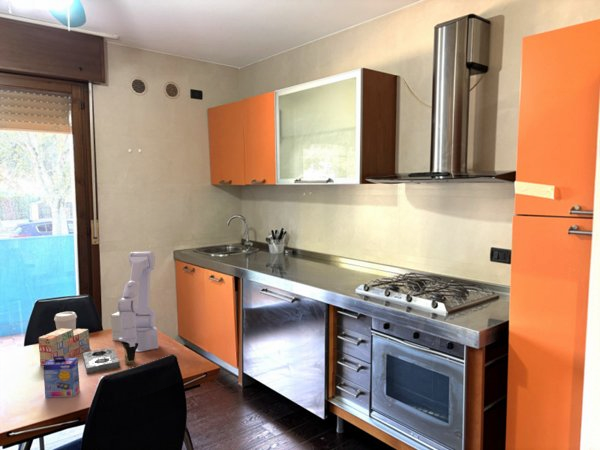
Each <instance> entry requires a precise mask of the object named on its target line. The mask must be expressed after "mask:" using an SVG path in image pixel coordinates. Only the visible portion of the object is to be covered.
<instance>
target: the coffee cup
mask: <svg viewBox="0 0 600 450" xmlns="http://www.w3.org/2000/svg"><path fill="white" fill-rule="evenodd" d="M77 318H78V316H77V313H76V312H74V311H63V312H59V313H56V314H55V315H54V319H53V321H54V322H55V327H56V330H59V329H61V328H64V329H73V330H75V329H77V328H76V327H77Z"/></svg>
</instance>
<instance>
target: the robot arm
mask: <svg viewBox="0 0 600 450" xmlns="http://www.w3.org/2000/svg"><path fill="white" fill-rule="evenodd" d="M155 260H156V259H155V253H154V252H153V250H152V251H131V252H130V253H129V256H128V263H129V266H130V268H131V270H130V276H129V281H128V282H126V283H125V286H124V289H123V293H122V297H121V298H120V299H119V300H118V301H117V310H118V311H117V312H119V316H120V317H121V331H122V337H121V338H119V342H121V344H122V347H123V349H124V351H125V350H126V353H127V357H128V360H129V361H132V360H134V358H135V359H136V353H141V352H145V351H149V350H151V351H152V350H155V349H159V335H158V334H159V333H158V329H157V328H158V327H156V323H157V320H156V319H157V318H156V311H155V310H154V309H152V307H150V293H151V292H150V291H151V289H150V287H151V273H152V272H151V271H153V270H154V269H155V266H156V265H155V262H156V261H155Z"/></svg>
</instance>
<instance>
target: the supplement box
mask: <svg viewBox="0 0 600 450" xmlns="http://www.w3.org/2000/svg"><path fill="white" fill-rule="evenodd" d="M110 317H111V318H110V319H111V320H110V321H111V334H112V335H111V337H112V341H116V342H117V341H119V338H121V337H122V331H121V317H120V316H119V311H117V312H114V313H112V314H111V315H110ZM119 342H120V341H119Z"/></svg>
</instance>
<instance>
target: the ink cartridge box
mask: <svg viewBox="0 0 600 450" xmlns="http://www.w3.org/2000/svg"><path fill="white" fill-rule="evenodd" d="M53 358H54V359H49V360H48V361H47V362H46V363H44V364H43V366H42V370H43V381H44V382H43V384H44V395H45V396H44V397H45V399H49V398H50V399H51V398H52V399H53V398H73V397H75V396H76V395H77V394H78V393H79V392H80V391H81V387H80V375H79V373H80V372H79V361H78V360H79V359H78V357H72V358H66V359H65V358H64V356H53ZM56 358H59V359H56ZM61 358H63V359H61Z"/></svg>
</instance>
